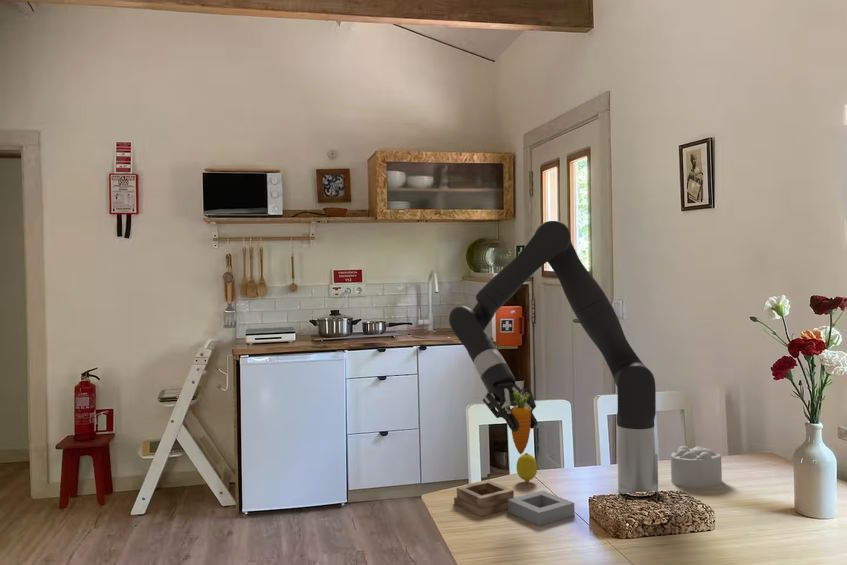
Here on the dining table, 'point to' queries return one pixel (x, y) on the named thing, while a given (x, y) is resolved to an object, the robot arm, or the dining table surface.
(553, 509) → the socket block
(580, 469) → the dining table surface
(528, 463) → the lemon
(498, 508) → the square wooden tray
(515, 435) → the carrot
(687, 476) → the lumpy-topped squat cylinder
